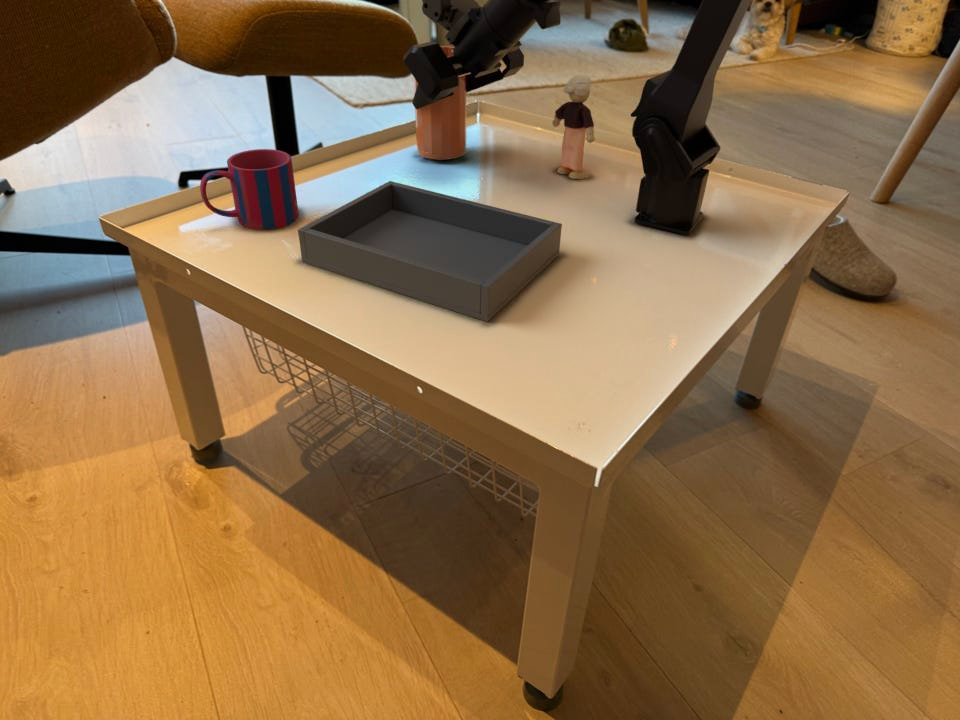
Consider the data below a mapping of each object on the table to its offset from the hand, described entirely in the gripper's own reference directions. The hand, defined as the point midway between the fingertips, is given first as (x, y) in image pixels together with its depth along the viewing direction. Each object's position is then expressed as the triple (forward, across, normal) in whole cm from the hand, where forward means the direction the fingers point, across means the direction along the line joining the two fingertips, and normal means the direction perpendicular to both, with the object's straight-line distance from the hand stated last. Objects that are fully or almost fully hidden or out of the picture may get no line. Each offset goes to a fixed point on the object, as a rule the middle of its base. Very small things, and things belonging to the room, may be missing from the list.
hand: (432, 100), depth 94 cm
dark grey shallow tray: (-9, +25, +20) cm, 33 cm away
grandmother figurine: (-8, -6, +19) cm, 21 cm away
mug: (+6, +30, +5) cm, 31 cm away
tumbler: (+4, 0, +6) cm, 7 cm away
